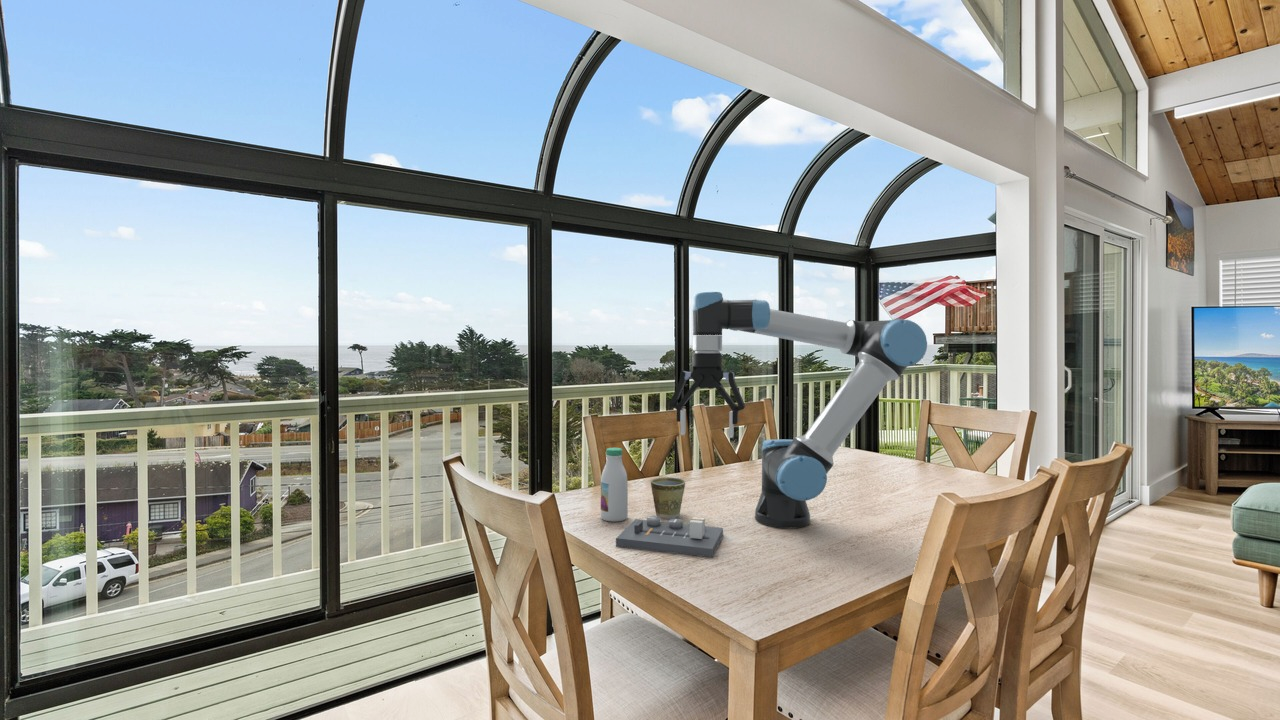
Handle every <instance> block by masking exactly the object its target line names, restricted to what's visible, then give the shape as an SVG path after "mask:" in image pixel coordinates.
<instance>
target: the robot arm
mask: <svg viewBox="0 0 1280 720" xmlns="http://www.w3.org/2000/svg"><path fill="white" fill-rule="evenodd" d="M770 307H771V306H770V304H769V302H768V301H767V300H762V299H731V300H730V299H724V297H723V294H722V292H720V291H699V292H696V293H695V294H694V295H693V304H692V351H693V354H692V370H691V371H686V370H682V371H680V373H679V374H680V375H679V381H678V383H677V386H676V388H675V391H674V393H673V396H672V397H671V399H670V402H669V407H671V408H674V409H675V410H676V422H677V423H678V422H679V424H680V425H679V426H680V428H679V429H680V432H679V434H680V436H684V435H686V421H687V420H686V416H687V415H686V413H687V412H686V411H687V409H686V408H684V406H685V405H686V403H688V401H689V400H690V399H691V397H692V396H693V395H694V393H695V392H696V391H697V390H698V388H700V389H709V390H710V389H715V390H716V391H717V392H718V393H719V394H720V395H721V397H722V399H724V400H723V401H725V402H726V404H727V406H729V408H730V411H728V413H729V415H728V419H729V421H728V424H729V428H728V429H729V430H728V438H730V439H732V438H733V437H734V436H735V433H734V432H735V431H734V430H735V429H734V428H735V425H737V424H738V423H739V412H740V411H743V410H744V409H745V408H746V404H745V402H744V399H743V396H742V395H741V392H740V389H739V387H738V384H737V383H736V379H735V378H736V377H735V372H734V371H730V372H724V371H723V354H722V351H723V330H730V331H735V332H744V333H745V332H746V333H751V334H757V335H762V336H767V337H773V338H779V339H783V340H788V341H789V340H790V341H794V342H798V343H799V342H800V343H805V344H811V345H816V346H822V347H827V348H832V349H837V350H839V351H840V352H841V353H842V354H844V355H849V356H850V355H851V356H854V357H857V358H858V363H857V364H856V365H855V367H854V368H853V370H852V371H851V372H850V373H849V375H848V376H847V377H846V379H845V380H844V382H843V383H842V384H841V385H840V387H839V388H838V389H837V391H836V392H835V394H834V395H833V396H832V397H831V399H830V400H829V402H828V403H827V404H826V406H825V407H824V409H823V410H822V411H821V412H820V414H819V415H818V416H817V417H816V419H815V420H814V422H813V423H812V424H811V426H810V427H809V428H808V429H807V431H806V432H805V434H804V435H801V436H800V435H799V436H795V437H794V438H793V439H782V438H780V439H765V440H764V441H763V442H762V447H761V448H762V449H761V491H760V492H761V493H760V496H759V499H758V501H757V504H756V507H755V511H754V512H755V513H754V518H755V521H757V522H758V523H760V524H762V525H764V526H765V525H766V526H769V527H772V528H773V527H774V528H780V529H781V528H782V529H799V528H803V527H804V528H805V527H807V526H808V525H809V524H811V514H810V510H809V507H808V504H807V503H808V502H807V501H810V500H813V499H815V498H817V497H818V496H819V495H821V494H822V493H823V491H824V490H825V488H826V485H827V481H828V473H829V471H830V470H831V469H832V468H833V466H834V457H833V456H834V454H835V453H836V452H837V450H838V449H839V448H840V446H841V445H842V444H843V442H844V441H845V440H846V438H848V435H849V434H850V433H851V431H852V430H853V429H854V427H856V425H857V424H858V422H859V421H860V419H861V418H862V417H863V416H864V414H865V413H866V411H867V410H868V409H869V408H870V406H871V405H872V404H873V403H874V401H875V399H876V398H877V397H878V395H879V394H880V393H881V391H882V390H883V389H884V387H886V385H887V384H888V383H889V382H890V381H895V380H899V378H900V377H901V375H903V373H904V372H905V371H906V369H907V368H908V367H911V366H914V365H916V364H918V363H919V362H920V361H921V360H922V359H923V358H924V356H925V355H926V352H927V349H928V340H927V335H926V333H925V331H924V329H923V328H922V326H920V325H919V324H917V323H916V322H915V321H912V320H909V319H904V318H894V319H889V320H887V319H886V320H885V319H884V320H874V321H861V320H860V321H859V320H852V319H848V320H847V321H846V322H845V321H839V320H838V321H837V320H832V319H828V318H827V319H826V318H821V317H816V316H812V315H811V316H810V315H805V314H799V313H795V312H788V311H783V310H779V309H778V310H777V309H774V308H773V309H772V308H770ZM690 378H691V379H692V380H693V381H694V382H693V383H692V385H691V386H690V388H689V389H688V391H686V393H685V394H684V395H683V397H682V398H681V400H680V401H679V399H680V396H681V394H682V392H683V389H684V387H685V384H686V382H687V380H689V379H690ZM724 378H725V380H726V381H727V382H728V383H729V386H730V389H731V391H732V393H733V396H734V398H735V400H736V403H737V404H736V403H735V401H734V400H733V398H732V397H731V395H729V393H728V391H727V390H726V389H725V388H724V386H723V384H722V383H721V381H722V380H723V379H724ZM678 401H679V402H678Z"/></svg>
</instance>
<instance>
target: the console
mask: <svg viewBox="0 0 1280 720" xmlns="http://www.w3.org/2000/svg"><path fill="white" fill-rule="evenodd" d="M723 537H724V528H723V527H719V526H710V525H705V534H704V536H703V538H702V539H696V538H690V523H689V524H688V523H684V522H683V520H682V519H680V518H671V519H668V521H667V522H666V521H661V518H660V517H658V516H646V519H638V518H635V519H634V520H633V521H632V522H630V524H629V525H628V526H627V527H625V529H624V530H622V532H621V533H620V534H618V536H617V537H615V546H616V547H621V548H629V549H638V550H646V551H647V550H648V551H655V552H663V553H673V554H681V555H690V556H696V557H697V556H699V557H706V558H713V557H714V555H715V553H716V551H717V549H718V546H719V544H720V542H721V540H722V538H723Z"/></svg>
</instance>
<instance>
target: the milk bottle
mask: <svg viewBox="0 0 1280 720" xmlns="http://www.w3.org/2000/svg"><path fill="white" fill-rule="evenodd" d="M605 453H606V462H605V465H604V467H603V469H602V472H601V476H600V477H601V478H600V519H602V520H603V521H605V522H617V523H618V522H622V521H623V522H624V521H625V520H627V518H628V511H629V510H628V504H629V503H628V502H629V501H628V500H629V498H628V497H629V496H628V494H629V491H628V490H629V488H628V487H629V485H628V483H629V482H628V474H627V470H626V469H625V466H624V464H623V460H622V457H623V448H622V447H608V448H606V450H605Z"/></svg>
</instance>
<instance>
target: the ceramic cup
mask: <svg viewBox="0 0 1280 720" xmlns="http://www.w3.org/2000/svg"><path fill="white" fill-rule="evenodd" d="M685 487H686V481H685V479H682V478H678V477H671V476H670V477H669V476H664V477H662V476H661V477H655V478H653V479H651V481H650V488H651V492H652V493H651V494H652V497H653V504H654V511H655V515H656V517H659V518H660V519H668V520H670V519H678V517H679V516H680V514H681V509H682V502H683V496H684V493H685Z"/></svg>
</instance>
